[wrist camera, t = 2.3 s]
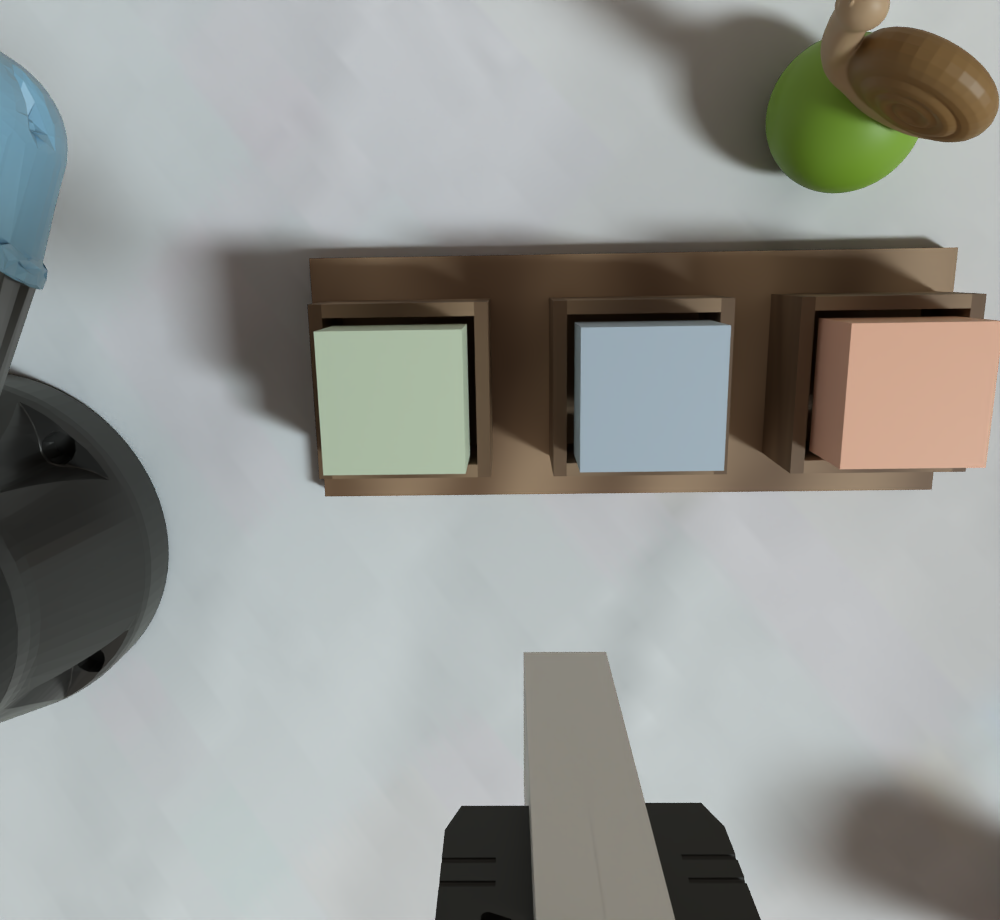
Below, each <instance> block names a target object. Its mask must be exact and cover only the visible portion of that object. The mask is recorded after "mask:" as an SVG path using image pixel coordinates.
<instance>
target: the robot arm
mask: <svg viewBox="0 0 1000 920" xmlns="http://www.w3.org/2000/svg"><path fill="white" fill-rule="evenodd" d="M67 151H68V148H67V136H66V130H65V127H64V123H63V120H62V118H61V115H60V113H59V111H58V109H57V107H56V105H55V103H54V101H53V100H52V98H51V97H50V95H49V94H48V92H47V91H46V90H45V88H44V87H43V86H42V85H41V84H40V83H39V82H38V81H37V80H36V79H35V77H34V76H33V75H32V74H31V73H30V72H29V71H27V70H26V69H25V68H24V67H22V66H21V65H20V64H18V63H17V62H15V61H14V60H12V59H11V58H9V57H8V56H6V55H5V54H3V53H2V52H0V723H1V722H3V721H6V720H9V719H12V718H14V717H17V716H20V715H23V714H26V713H28V712H31V711H34V710H37V709H39V708H42V707H45V706H48V705H50V704H53V703H56V702H58V701H61V700H63V699H65V698H68V697H69V696H71V695H73V694H75V693H77V692H79V691H80V690H82V689H84V688H85V687H87V686H88V685H90V684H91V683H93V682H94V681H96V680H97V679H98V678H100V677H101V676H102V675H103V674H104V673H106V672H107V671H108V670H109V669H110V668H111V667H112V666H113V665H114V664H115V663H116V662H117V661H118V660H119V659H120V658H121V657H122V656H123V655H124V654H125V653H126V652H127V651H128V650H129V649H130V648H131V647H132V646H133V645H134V644H135V643H136V642H137V641H138V639H139V638H140V637H141V636H142V634H143V633H144V632H145V630H146V629H147V627H148V626H149V624H150V622H151V620H152V619H153V617H154V615H155V613H156V610H157V608H158V606H159V604H160V601H161V598H162V595H163V591H164V587H165V583H166V578H167V571H168V536H167V529H166V523H165V519H164V515H163V511H162V508H161V504H160V501H159V498H158V496H157V493H156V491H155V488H154V486H153V484H152V482H151V480H150V478H149V476H148V474H147V473H146V471H145V469H144V467H143V465H142V464H141V462H140V461H139V459H138V458H137V456H136V455H135V454H134V452H133V451H132V450H131V448H130V447H129V446H128V444H127V443H126V442H125V441H124V440H123V439H122V438H121V436H120V435H119V434H118V433H117V432H116V431H115V430H114V429H113V428H112V427H111V426H110V425H109V424H108V423H106V422H105V421H104V420H103V419H102V418H101V417H100V416H98V415H97V414H96V413H94V412H93V411H92V410H90V409H89V408H88V407H86V406H85V405H83V404H82V403H80V402H79V401H77V400H76V399H74V398H72V397H70V396H68V395H67V394H65V393H63V392H61V391H59V390H57V389H55V388H53V387H50V386H48V385H45V384H43V383H40V382H37V381H34V380H31V379H28V378H24V377H20V376H16V375H11V374H8V371H9V368H10V365H11V362H12V359H13V356H14V353H15V350H16V347H17V344H18V341H19V338H20V335H21V332H22V329H23V326H24V323H25V320H26V317H27V314H28V311H29V308H30V305H31V302H32V299H33V296H34V293H35V290H36V289H43V287H44V284H45V282H46V279H47V269H46V267H45V265H44V264H43V259H44V254H45V250H46V245H47V241H48V236H49V232H50V228H51V223H52V219H53V214H54V210H55V206H56V202H57V198H58V194H59V191H60V187H61V183H62V179H63V175H64V172H65V168H66V162H67ZM524 799H525V806H461V808H460V809H459V810H458V812H457V813H456V815H455V816H454V818H453V819H452V821H451V822H450V823H449V825H448V826H447V828H446V829H445V835H444V844H443V853H442V863H441V872H440V884H439V890H438V899H437V909H436V918H435V920H761V919H760V917H759V914H758V911H757V909H756V906H755V904H754V901H753V899H752V896H751V893H750V891H749V888H748V886H747V883H745V881H744V875H743V873H742V870H741V868H740V865H739V863H738V860H736V858H735V852H734V850H733V847H732V845H731V842H730V840H729V837H728V834H727V832H726V829H725V827H724V826H723V825H722V824H721V823H720V822H719V821H718V820H717V819H716V818H715V817H714V816H713V815H712V814H711V813H710V811H709V810H708V809H707V808H706V807H705V806H704V805H703V804H702V803H645V801H644V797H643V793H642V790H641V786H640V782H639V778H638V774H637V770H636V766H635V763H634V759H633V755H632V751H631V747H630V743H629V739H628V736H627V732H626V728H625V724H624V720H623V716H622V712H621V709H620V705H619V701H618V697H617V693H616V689H615V685H614V682H613V678H612V674H611V670H610V666H609V662H608V658H607V655H606V652H524Z"/></svg>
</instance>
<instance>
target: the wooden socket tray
mask: <svg viewBox="0 0 1000 920" xmlns="http://www.w3.org/2000/svg"><path fill="white" fill-rule="evenodd" d="M957 252H958V248H900V249H841V250H782V251H723V252H664V253H605V254H546V255H487V256H428V257H369V258H310V259H309V263H310V277H311V292H312V304H308V305H307V306H308V321H309V335H310V350H311V364H312V378H313V393H314V407H315V422H316V436H317V450H318V465H319V479H324V483H325V496H399V495H487V494H576V493H664V492H752V491H841V490H929V489H932V480H933V472H965V471H966V468H909V469H839V468H837V467H835V466H834V465H832V464H830V463H829V462H827V461H825V460H824V459H822V458H821V457H819V456H817V455H816V454H814V453H812V452H811V451H809V445H810V431H811V417H812V404H813V390H814V376H815V363H816V349H817V335H818V322H819V318H866V317H932V316H959V317H969V318H978V319H984V311H985V302H986V294H979V293H959V292H953V289H954V280H955V270H956V261H957ZM671 320H712V321H716V322H720V323H724V324H728V325H731V337H730V358H729V379H728V399H727V420H726V440H725V461H724V471H655V472H580V471H579V468H578V465H577V462H576V459H575V456H574V322H606V321H671ZM410 324H467V354H468V394H469V433H470V457H469V461H468V466H467V470H466V474H401V475H323V462H322V448H321V433H320V418H319V404H318V389H317V374H316V360H315V345H314V331H317V330H321V329H324V328H327V327H330V326H345V325H410Z"/></svg>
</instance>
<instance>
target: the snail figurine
mask: <svg viewBox="0 0 1000 920" xmlns="http://www.w3.org/2000/svg"><path fill="white" fill-rule="evenodd" d="M889 6H890V0H836V3H835V10H834V12H833V13H832V15H831V17H830V19H829V21H828V24H827V26H826V29H825V31H824V34H823V37H822V40H821V41H819V42H817V43H815V44H813V45H812V46H810V47H809V48H807V49H806V50H804V51H803V52H802V53H801V54H799V55H798V56H797V57H796V58H795V59H794V60H793V61H792V62H791V63H790V64H789V65H788V67H787V68H786V69H785V70H784V72H783V73H782V75H781V76H780V78H779V79H778V81H777V83H776V85H775V87H774V89H773V91H772V94H771V97H770V100H769V103H768V107H767V113H766V137H767V142H768V146H769V149H770V151H771V154H772V156H773V158H774V160H775V162H776V163H777V165H778V166H779V167H780V169H781V170H782V171H783V172H784V173H785V174H786V175H787V176H788V177H789V178H790V179H792V180H793V181H794V182H796V183H798V184H799V185H801V186H803V187H806V188H808V189H811V190H814V191H818V192H824V193H844V192H850V191H855V190H858V189H861V188H864V187H867V186H869V185H871V184H873V183H875V182H877V181H879V180H880V179H882V178H884V177H885V176H886V175H888V174H889V173H890V172H892V171H893V170H894V169H895V168H896V167H897V166H898V165H899V164H900V163H901V162H902V161H903V160H904V159H905V158H906V156H907V155H908V154H909V152H910V151H911V150H912V148H913V146H914V145H915V143H916V141H917V139H918V138H923V139H929V140H934V141H940V142H960V141H966V140H969V139H971V138H974V137H976V136H978V135H980V134H981V133H982V132H984V131H985V130H986V129H987V128H988V127H989V126H990V125H991V123H992V122H993V120H994V118H995V116H996V114H997V111H998V107H999V96H998V91H997V88H996V85H995V83H994V81H993V79H992V78H991V76H990V74H989V73H988V72H987V70H986V69H985V68H984V67H983V66H982V65H981V64H980V63H979V62H978V61H977V60H976V59H975V58H974V57H973V56H972V55H970V54H969V53H968V52H966V51H965V50H963V49H962V48H961V47H959V46H957V45H956V44H954V43H952V42H950V41H949V40H947V39H944V38H942V37H940V36H938V35H935V34H933V33H930V32H927V31H923V30H920V29H915V28H910V27H888V28H882V29H879V30H877V31H875V32H866V31H868V30H871V29H873V28H875V27H876V26H878V25H879V24H880V23H881V22H882V21H883V20H884V19H885V17H886V15H887V13H888V11H889Z"/></svg>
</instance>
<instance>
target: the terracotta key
mask: <svg viewBox="0 0 1000 920" xmlns="http://www.w3.org/2000/svg"><path fill="white" fill-rule="evenodd" d="M999 356H1000V321H997V320H988V319H978V318H969V317H959V316H932V317H866V318H819V322H818V335H817V349H816V363H815V376H814V390H813V404H812V417H811V431H810V445H809V451H811V452H812V453H814V454H816V455H817V456H819V457H821V458H822V459H824V460H825V461H827V462H829V463H830V464H832V465H834V466H835V467H837V468H839V469H909V468H986V460H987V452H988V444H989V436H990V428H991V420H992V412H993V404H994V396H995V388H996V380H997V372H998V364H999Z"/></svg>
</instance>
